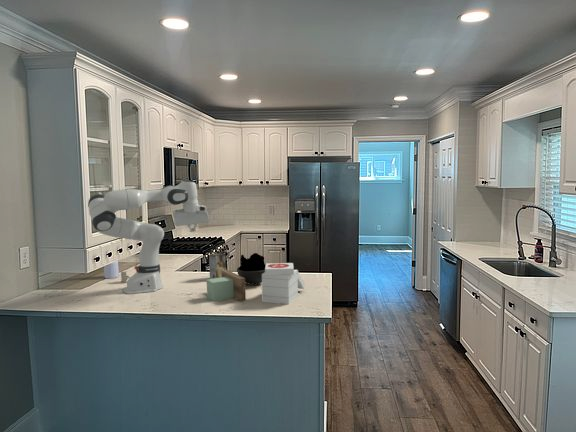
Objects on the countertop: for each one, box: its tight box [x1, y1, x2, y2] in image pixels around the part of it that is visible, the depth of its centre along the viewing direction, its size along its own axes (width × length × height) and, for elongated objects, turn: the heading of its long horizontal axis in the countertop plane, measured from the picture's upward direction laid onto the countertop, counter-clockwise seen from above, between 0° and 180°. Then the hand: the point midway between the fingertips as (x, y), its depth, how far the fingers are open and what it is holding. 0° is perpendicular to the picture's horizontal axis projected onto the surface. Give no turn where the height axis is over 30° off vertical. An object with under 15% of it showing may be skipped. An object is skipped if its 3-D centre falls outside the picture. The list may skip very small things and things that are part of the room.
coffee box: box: [208, 252, 227, 279], centre depth 282 cm, size 9×6×16 cm
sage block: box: [206, 277, 234, 302], centre depth 238 cm, size 12×9×10 cm
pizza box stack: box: [261, 262, 306, 305], centre depth 238 cm, size 19×30×18 cm, turn 160°
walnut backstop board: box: [221, 269, 247, 302], centre depth 242 cm, size 3×26×12 cm, turn 30°
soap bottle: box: [103, 260, 120, 279], centre depth 290 cm, size 9×9×25 cm
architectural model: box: [120, 270, 131, 284], centre depth 277 cm, size 3×7×7 cm, turn 52°
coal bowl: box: [236, 252, 266, 286], centre depth 266 cm, size 20×20×19 cm
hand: (192, 231), depth 254 cm, fingers closed
